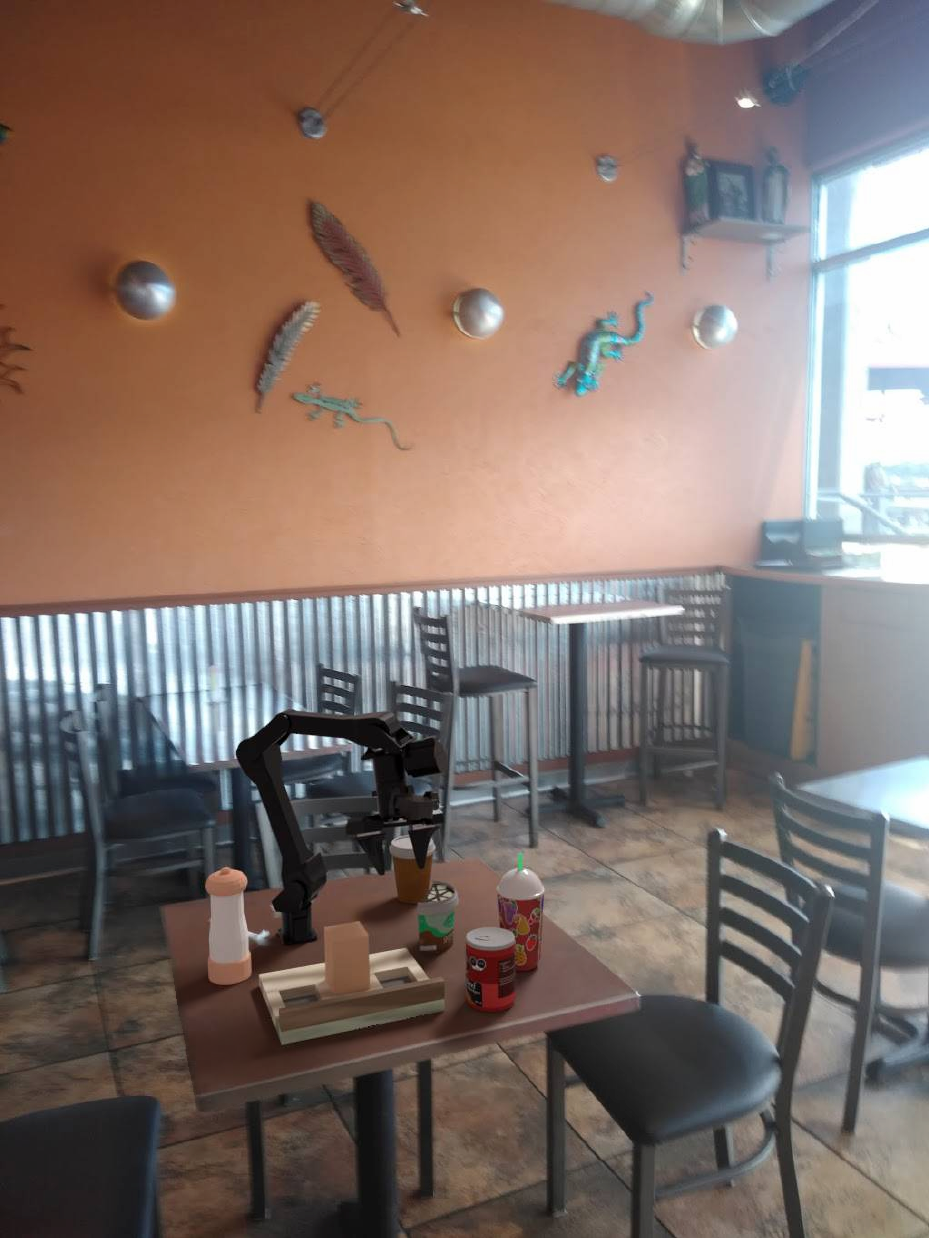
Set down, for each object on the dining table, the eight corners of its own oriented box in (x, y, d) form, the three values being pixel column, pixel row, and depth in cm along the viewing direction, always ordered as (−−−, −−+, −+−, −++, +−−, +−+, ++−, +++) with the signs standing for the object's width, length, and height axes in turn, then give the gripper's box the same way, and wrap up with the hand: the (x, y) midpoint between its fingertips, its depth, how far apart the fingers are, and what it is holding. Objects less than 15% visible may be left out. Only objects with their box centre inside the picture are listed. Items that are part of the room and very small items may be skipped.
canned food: (464, 991, 162) (463, 927, 160) (512, 988, 162) (511, 925, 161) (468, 1014, 154) (467, 947, 153) (518, 1011, 155) (518, 945, 153)
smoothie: (551, 958, 173) (551, 849, 171) (535, 978, 165) (534, 865, 163) (508, 950, 176) (507, 843, 174) (490, 969, 169) (488, 858, 167)
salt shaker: (238, 987, 164) (233, 877, 162) (200, 981, 166) (195, 873, 164) (259, 968, 171) (255, 862, 169) (222, 963, 173) (218, 858, 171)
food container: (451, 960, 173) (450, 906, 172) (418, 957, 174) (416, 903, 173) (465, 931, 185) (464, 880, 184) (433, 929, 186) (433, 878, 185)
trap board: (259, 985, 164) (258, 957, 164) (406, 958, 174) (405, 931, 173) (281, 1044, 146) (280, 1013, 145) (444, 1010, 155) (444, 980, 155)
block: (325, 979, 162) (323, 927, 161) (360, 972, 164) (359, 921, 163) (334, 995, 157) (332, 941, 156) (370, 988, 159) (368, 935, 158)
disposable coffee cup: (418, 910, 195) (417, 852, 194) (380, 900, 200) (379, 844, 199) (445, 894, 203) (444, 838, 202) (408, 885, 208) (407, 831, 207)
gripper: (379, 779, 162) (391, 875, 158) (459, 773, 175) (471, 861, 172) (339, 788, 169) (349, 880, 166) (418, 782, 183) (429, 867, 179)
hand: (402, 872), depth 170 cm, fingers open, 9 cm apart
